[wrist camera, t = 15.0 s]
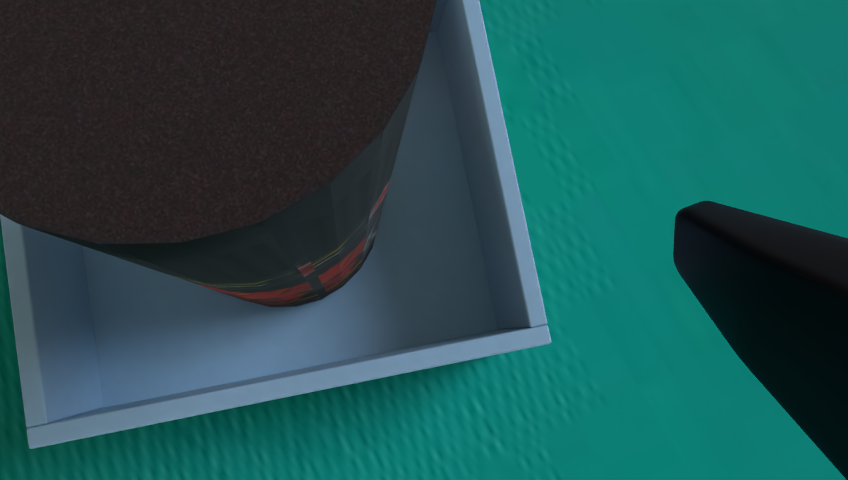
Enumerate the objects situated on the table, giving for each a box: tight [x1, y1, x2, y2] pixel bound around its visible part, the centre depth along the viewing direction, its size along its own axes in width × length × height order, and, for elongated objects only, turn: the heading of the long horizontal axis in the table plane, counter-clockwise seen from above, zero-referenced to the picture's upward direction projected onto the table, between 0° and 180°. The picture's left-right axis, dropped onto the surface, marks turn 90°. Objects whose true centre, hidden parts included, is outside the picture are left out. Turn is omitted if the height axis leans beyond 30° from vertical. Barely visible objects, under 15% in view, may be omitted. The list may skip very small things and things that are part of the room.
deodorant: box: [0, 0, 437, 307], centre depth 15 cm, size 6×6×15 cm
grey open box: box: [0, 0, 551, 449], centre depth 20 cm, size 11×13×4 cm
